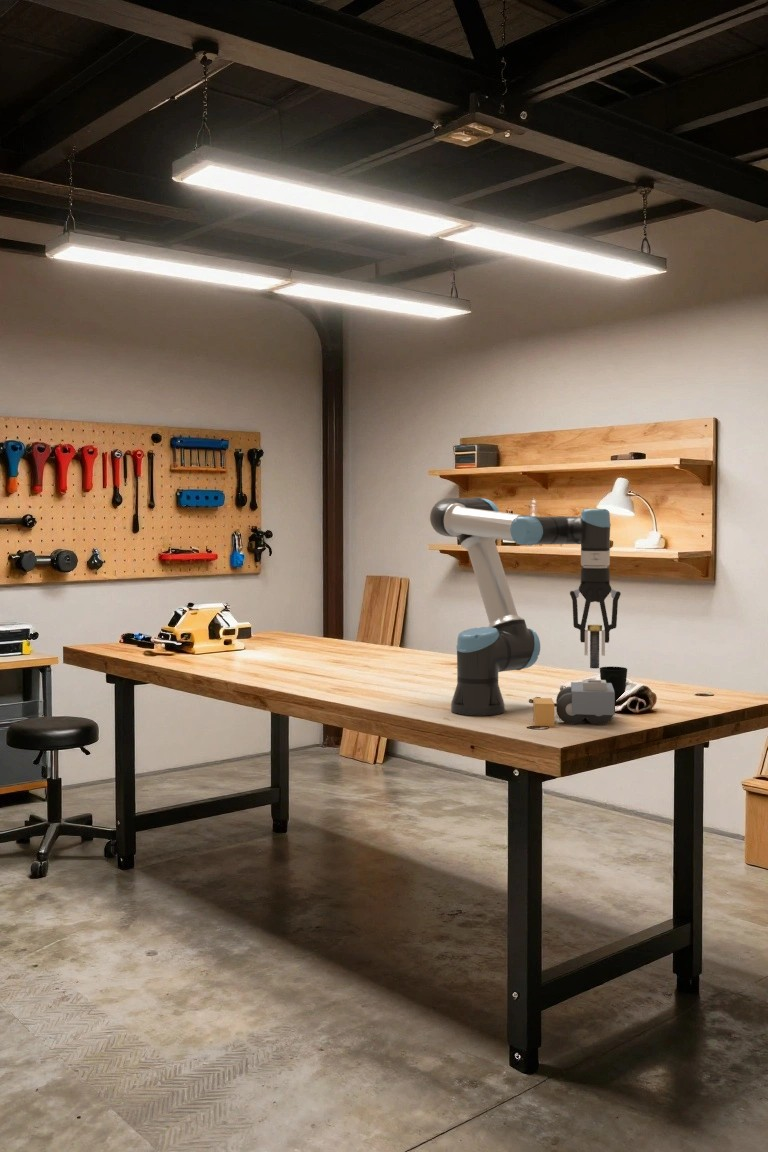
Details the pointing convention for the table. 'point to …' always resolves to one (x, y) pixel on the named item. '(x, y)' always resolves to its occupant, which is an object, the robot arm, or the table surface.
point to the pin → (594, 645)
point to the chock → (543, 711)
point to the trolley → (586, 702)
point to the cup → (615, 678)
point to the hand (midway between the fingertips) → (594, 654)
